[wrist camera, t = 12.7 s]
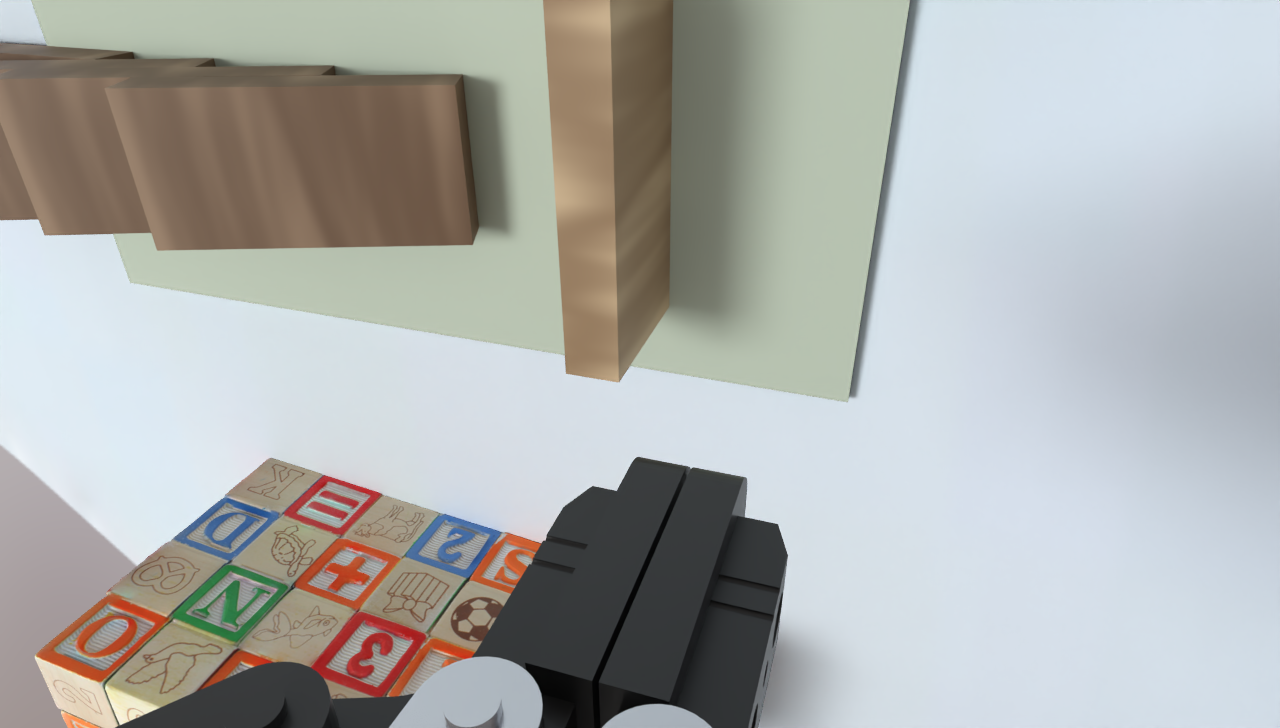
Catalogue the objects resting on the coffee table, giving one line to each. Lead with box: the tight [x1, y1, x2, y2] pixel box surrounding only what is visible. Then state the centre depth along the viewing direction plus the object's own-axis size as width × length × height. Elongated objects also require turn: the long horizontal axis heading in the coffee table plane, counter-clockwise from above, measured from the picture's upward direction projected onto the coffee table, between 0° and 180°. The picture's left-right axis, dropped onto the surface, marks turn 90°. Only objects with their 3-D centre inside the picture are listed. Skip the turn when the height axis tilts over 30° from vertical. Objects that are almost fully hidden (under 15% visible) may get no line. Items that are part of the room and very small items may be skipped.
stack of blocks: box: [35, 458, 541, 728], centre depth 32 cm, size 21×6×12 cm, turn 85°
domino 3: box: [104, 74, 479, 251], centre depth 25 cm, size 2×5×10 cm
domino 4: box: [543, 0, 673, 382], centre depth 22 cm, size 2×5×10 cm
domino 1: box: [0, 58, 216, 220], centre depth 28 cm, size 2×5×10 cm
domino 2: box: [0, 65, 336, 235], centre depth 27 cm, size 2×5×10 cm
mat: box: [31, 0, 910, 402], centre depth 27 cm, size 30×16×1 cm, turn 90°
